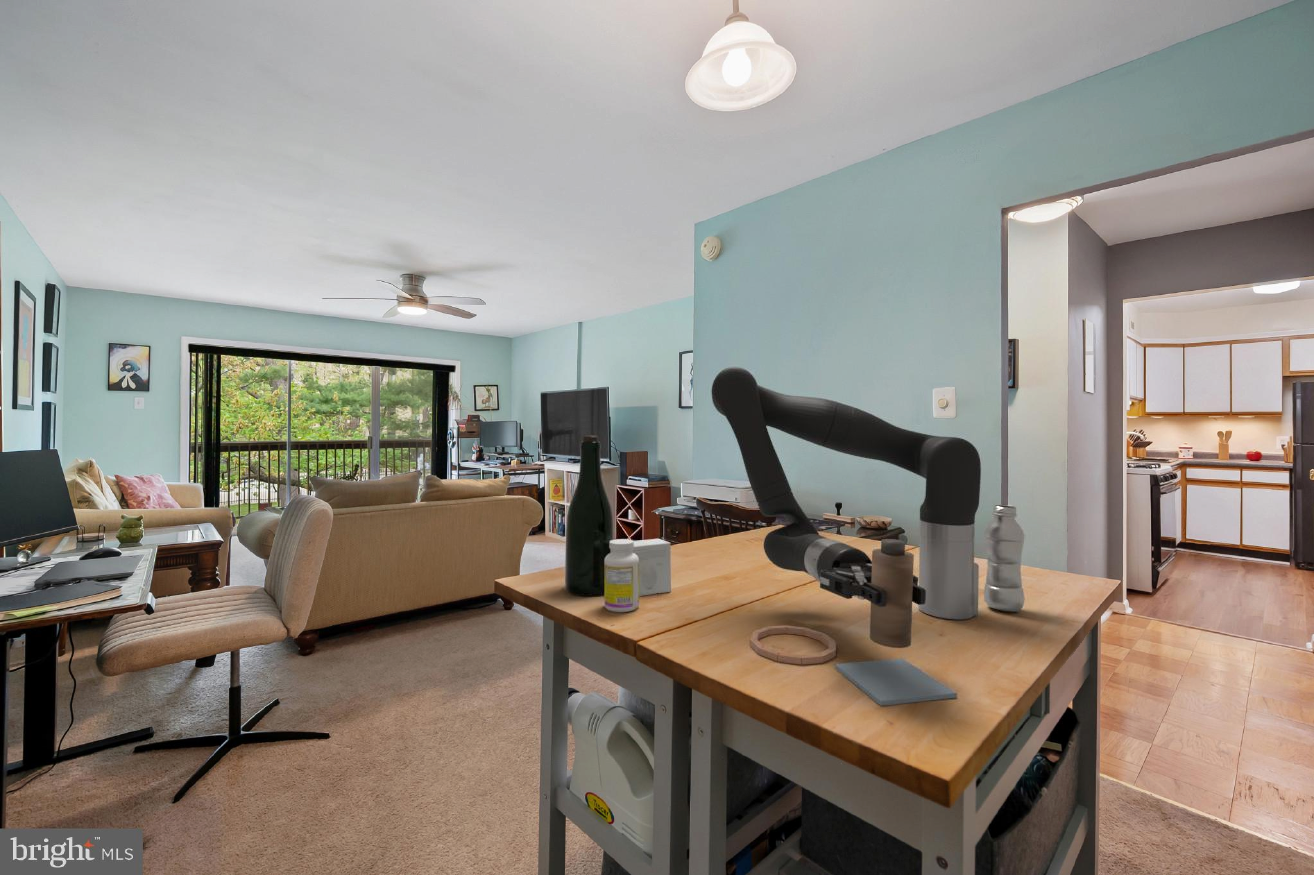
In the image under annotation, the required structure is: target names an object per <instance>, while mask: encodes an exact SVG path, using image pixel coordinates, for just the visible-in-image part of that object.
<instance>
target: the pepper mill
mask: <svg viewBox="0 0 1314 875" xmlns="http://www.w3.org/2000/svg"><path fill="white" fill-rule="evenodd" d="M871 552H872V554H871V562H872V579H871V583H872V584H873V585H875V586H878V587H880V588H882V589H884V590H885V591H886V593H887V599H886V606H885V607H879V606H877V605H875V604H874V603H872V602H870V613H869V614H870V616H869V618H870V619H869V620H870V622H869V639H870V641H871V642H873V643H875V644H876V645H880V646H884V647H887V648H893V649H903V648H904V649H905V648H909V647H910V646H911V645H912V624H913V623H912V620H913V619H912V617H913V602H912V596H913V575H914V558H915V555H914V554H913V553H912V552H909V551H906V541H904V540H900V539H893V538H891V539H890V538H885V539H884V538H883V539H881V540H880V548H876V549H875V548H874V549H873V550H872V551H871Z"/></svg>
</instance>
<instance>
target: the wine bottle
mask: <svg viewBox="0 0 1314 875" xmlns="http://www.w3.org/2000/svg"><path fill="white" fill-rule="evenodd" d="M601 449H602V446H601V442H600V441H599V436H598V435H593V434H592V435H583V436H582V441H580V444H579V450H580V454H579V455H580V458H579V460H580V461H579V473H578V479H577V483H576V486H575V490H574V492H573V494H572V497H571V500H570V503H569V506H568V511H567V513H566V526H565V527H566V528H565V560H564V562H565V563H564V567H565V568H564V585H565V586H564V587H565V589H566V591H567V592H569V593H570V594H572V595H576V596H587V597H588V596H591V597H592V596H598V595H599V596H600V595H605V594H604V593H605V591H604V589H605V588H604V560H605V557H606V556H607V555H608V554H610V553H611V550H610V548H609V542H610V541H611V540H615V531H614V515H613V509H612V508H613V507H612V505H611V502H610V499H609V497H608V493H607V492H606V488H605V485H604V482H603V478H602V469H601V468H602V467H601V466H602V464H601Z"/></svg>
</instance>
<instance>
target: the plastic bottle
mask: <svg viewBox="0 0 1314 875" xmlns="http://www.w3.org/2000/svg"><path fill="white" fill-rule="evenodd" d="M992 516H994V517H993V519H991V521H990V522H989V523H988V524H987V525H986V526H985V528H984V531H983V536H984V542H985V543H984V544H985V548H986V559H987V562H986V564H987V569H986V579H985V581H986V582H985V583H984V588H983V593H982V594H983V599H984V602H985V604H986V605H987V606H988V607H989V608H992V609H995V610H998V611H1001V612H1002V611H1003V612H1020V611H1021V610H1022V609H1023V607H1024V605H1025V592H1024V588H1023V583H1022V573H1021V571H1022V570H1021V569H1022V568H1021V567H1022V565H1021V563H1022V553H1023V549H1024V542H1025V532H1024V530H1023V528H1022V527H1021V526H1020V524H1019V523H1018V522H1017V520H1016V517H1018V514H1017V506H1013V505H1005V504H1004V505H1003V504H994V505H993V508H992Z"/></svg>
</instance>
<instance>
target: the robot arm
mask: <svg viewBox="0 0 1314 875" xmlns="http://www.w3.org/2000/svg"><path fill="white" fill-rule="evenodd" d="M711 399H712V400H711V401H712V404H713V406H714V407H715V408H714V409H716V411H717V412H718V413H720V414H721V415H722V416H724V417H725V418H726V420H727V422H728V424H729V425H730V427H731V429H732V432H733V434H734V436H735V438H736V441H737V444H738V447H739V450H740V454H741V458H742V460H743V465H744V469H745V473H746V474H747V479H748V481H749V485H750V487H751V488H750V489H752V492H753V495H754V498H755V501H756V503H757V506H758V509H759V512H760V513H761V515H762V516H763V517H766V518H772V517H773V518H774V517H780V516H781V517H784V518H785V519H787V520H788V521H789V524H787V525H784V526H782V527H778V528H775V529H773V530H771V531H770V532H768V533H767V534H766V535H765V537H764V540H763V551H764V553H765V555H766V558H767V559H768V560H769V561H770V562H771V563H772V564H773V565H775V566H776V567H778V568H780V569H781V570H782V569H783V570H785V571H786V570H787V571H794V572H804V573H805V574H807V575H810V576H811V577H812V578H813V579H814V580H816V581H817V582H819V588H820V589H822V590H824V591H828V592H829V593H832V594H834V595H837V596H839V597H841V598H844V599H847V600H850V599H853V597H855V598H857V599H859V600H862V601H865V600H867V601H868V602H870V603H871V602H872V603H874V604H875V605H877V606H879V607H885V606H886V599H887V593H886V591H885V590H884V589H882V588H880V587H878V586H875V585H873V584H872V583H871V579H872V559H871V558H870V557H869V556H868V554H866V552H865V551H863V550H861V549H859V548H856V547H854V546H852V545H849V544H847V543H845V542H841V541H839V540H836V539H830V538H828V537H825V536H823V535H821V534H819V532H818V529H817V528H816V527H815V525H814V524H813V522H812V521H811V520H810V519H809V517H808V516H807V515H806V513H805V512H804V511H803V509H802V508H801V506H800V505H799V503H798V501H797V500H796V498H795V496H794V493H793V491H792V487H791V486H790V484H789V483H790V482H789V480H788V477H787V475H786V472H785V470H784V468H783V465H782V463H781V461H780V458H779V456H778V454H777V451H776V448H775V447H774V445H773V441H772V439H771V436H770V433H769V430H768V427H770V428H773V429H776V430H778V431H781V432H784V433H785V434H788V435H790V436H793V437H796V438H798V439H801V440H804V441H806V442H809V443H812V444H814V445H817V446H820V447H823V448H826V449H830V450H832V451H835V452H838V453H842V454H846V455H850V456H854V457H858V458H865V459H868V460H869V459H870V460H875V461H881V462H885V463H887V464H891V465H894V466H896V467H898V468H901V469H904V470H906V471H908V472H910V473H913V474H915V475H918V476H919V477H922V478H923V479H925V494H924V495H925V496H924V499H923V502H922V503H921V505H920V507H919V546H918V547H919V548H918V550H919V551H918V553H919V554H918V555H919V556H918V560H919V561H918V562H919V564H918V577H917V576H916V575H915V574H913V596H912V603H913V604H916V605H918V609H919V611H921V612H923V613H924V614H927V615H929V616H933V617H937V618H941V619H948V620H968V619H971V618H973V617H974V616H978V615H979V578H980V577H979V574H980V573H979V572H980V568H979V564H978V563H977V562H975V521H976V520H975V519H976V514H977V511H978V509H979V506H980V495H981V478H982V477H981V476H982V471H981V470H982V466H981V465H982V464H981V458H980V454H979V451H978V449H977V447H976V446H974V445H973V444H972V443H971V442H970V441H968V440H966V439H964V438H962V437H956V436H938V435H932V434H928V433H927V434H926V433H921V432H918V431H913V430H909V429H905V428H901V427H899V426H896V425H895V424H892V423H889V422H888V421H886V420H884V419H882V418H880V417H878V416H876V415H874V414H872V413H870V412H867V411H865V410H862V409H860V408H857V407H855V406H851V405H848V404H845V403H842V402H838V401H837V400H836V401H835V400H831V399H826V398H820V397H812V396H801V395H800V396H799V395H791V394H790V395H789V394H785V393H781V392H777V391H775V390H772V389H769V388H766V387H765V386H761V385H759V384H758V382H757V380H756V378H755V377H754V375H753V374H752V373H751V372H750V371H749V370H747V369H745V368H743V367H740V366H729V367H725V368H724V369H722V370H721V371H720V372H718V374H717V375H716V376H715V377H714V380H713V381H712V386H711Z"/></svg>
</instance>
